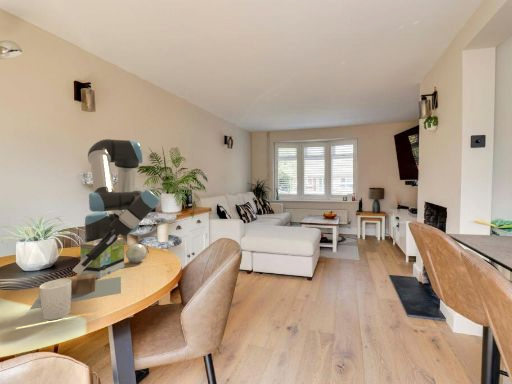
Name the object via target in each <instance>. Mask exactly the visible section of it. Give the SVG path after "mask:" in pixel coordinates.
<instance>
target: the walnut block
mask: <svg viewBox="0 0 512 384" xmlns="http://www.w3.org/2000/svg"><path fill="white" fill-rule="evenodd" d="M58 279H70V280H71V281H72V283H71V295H74V294H80V293H86V292H92V291H95V288H96V280H97V278H96V273H95V274H88V275H81V274H80V275H76V276H67V277H61V278H56V280H58Z"/></svg>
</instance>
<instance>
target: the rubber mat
mask: <svg viewBox="0 0 512 384" xmlns="http://www.w3.org/2000/svg"><path fill="white" fill-rule="evenodd" d="M118 294H122V276H116V277H110V278H104V279H103V278H102V279H96V288H95V291H92V292H86V293H80V294H74V295H71V303H73V302H78V301H83V300H89V299H90V300H91V299H95V298H100V297H101V298H102V297H106V296H112V295H118ZM39 308H42V306H41V298H40V294H39V295H38V296H37V298H36V299H35V300H34V302H33V304H31V306H30V308H29V310H34V309H39Z"/></svg>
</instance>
